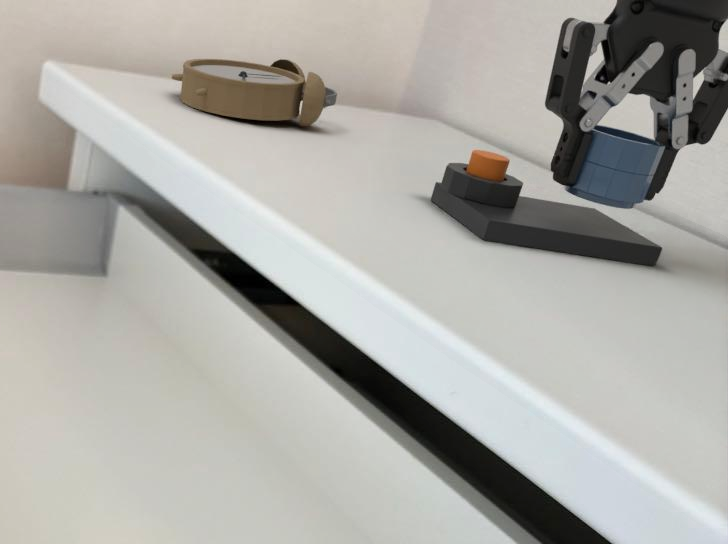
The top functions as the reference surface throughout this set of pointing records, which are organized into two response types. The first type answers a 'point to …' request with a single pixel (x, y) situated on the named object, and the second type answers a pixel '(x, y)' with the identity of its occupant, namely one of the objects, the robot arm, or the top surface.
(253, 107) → the alarm clock
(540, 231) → the scale
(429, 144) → the top surface
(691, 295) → the top surface
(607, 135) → the cup
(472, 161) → the button
